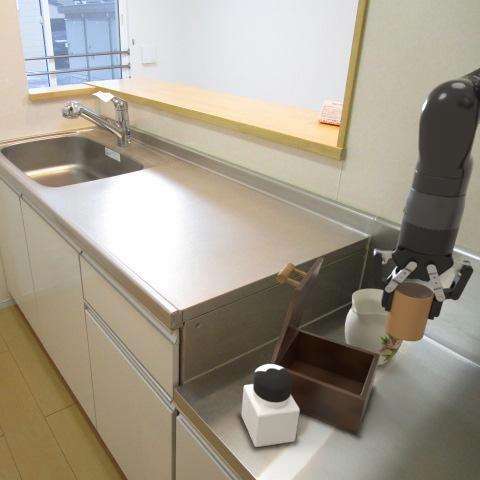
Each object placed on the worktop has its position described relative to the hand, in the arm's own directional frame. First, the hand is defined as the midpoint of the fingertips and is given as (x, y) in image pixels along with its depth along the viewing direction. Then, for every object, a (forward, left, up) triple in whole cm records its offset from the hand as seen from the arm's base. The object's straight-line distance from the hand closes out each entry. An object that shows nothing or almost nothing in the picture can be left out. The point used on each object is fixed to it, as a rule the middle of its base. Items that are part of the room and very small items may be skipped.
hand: (408, 312), depth 74 cm
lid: (+16, +6, -3) cm, 17 cm away
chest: (+10, +6, -19) cm, 22 cm away
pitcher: (+7, -12, -20) cm, 24 cm away
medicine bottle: (+13, +20, -20) cm, 31 cm away
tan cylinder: (0, 0, -4) cm, 4 cm away
